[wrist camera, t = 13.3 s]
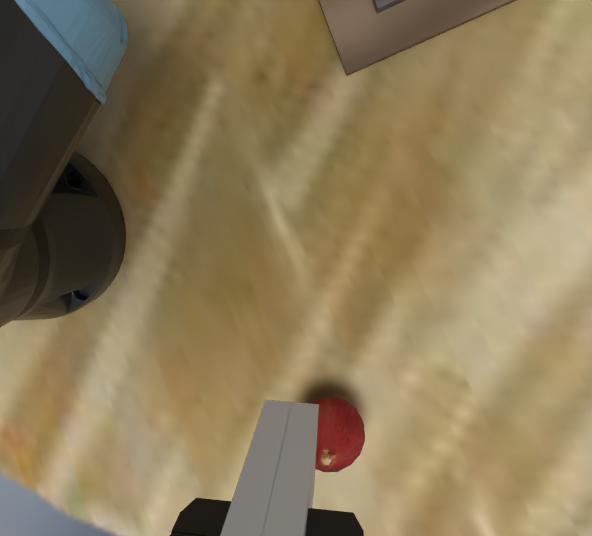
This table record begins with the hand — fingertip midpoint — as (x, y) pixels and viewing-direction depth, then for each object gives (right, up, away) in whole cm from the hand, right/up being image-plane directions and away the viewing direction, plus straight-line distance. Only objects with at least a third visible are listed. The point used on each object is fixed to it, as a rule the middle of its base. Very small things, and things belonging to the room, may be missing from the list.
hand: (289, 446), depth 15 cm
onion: (+3, -8, +32) cm, 33 cm away
